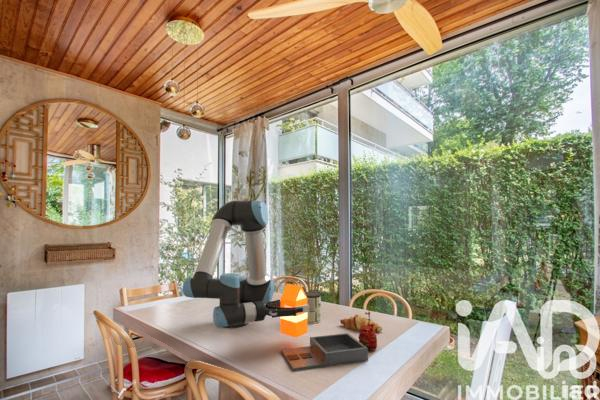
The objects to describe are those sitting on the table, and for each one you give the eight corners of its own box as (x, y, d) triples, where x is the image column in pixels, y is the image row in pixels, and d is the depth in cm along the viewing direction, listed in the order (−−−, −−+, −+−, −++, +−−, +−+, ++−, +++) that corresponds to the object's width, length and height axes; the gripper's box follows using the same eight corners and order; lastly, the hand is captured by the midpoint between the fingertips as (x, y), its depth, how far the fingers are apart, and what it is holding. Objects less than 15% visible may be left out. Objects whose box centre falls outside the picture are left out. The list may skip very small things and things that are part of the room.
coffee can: (302, 317, 168) (302, 291, 170) (321, 318, 167) (321, 291, 169) (300, 323, 158) (300, 295, 159) (320, 324, 157) (320, 295, 158)
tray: (293, 371, 105) (293, 357, 106) (281, 352, 122) (281, 340, 122) (368, 360, 114) (367, 348, 114) (347, 344, 130) (347, 333, 130)
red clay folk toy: (355, 348, 125) (355, 310, 127) (364, 343, 131) (363, 307, 132) (372, 353, 121) (371, 314, 122) (380, 348, 126) (379, 310, 127)
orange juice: (292, 328, 136) (292, 282, 137) (307, 332, 130) (307, 284, 132) (279, 333, 130) (280, 285, 131) (295, 338, 124) (295, 287, 126)
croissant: (383, 338, 147) (385, 321, 150) (379, 334, 139) (381, 316, 143) (342, 330, 157) (344, 314, 161) (335, 325, 149) (338, 309, 153)
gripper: (245, 313, 133) (291, 307, 143) (263, 330, 112) (315, 321, 123) (245, 296, 133) (291, 290, 143) (263, 309, 113) (315, 302, 123)
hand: (302, 304), depth 133 cm, fingers closed on orange juice, 10 cm apart
